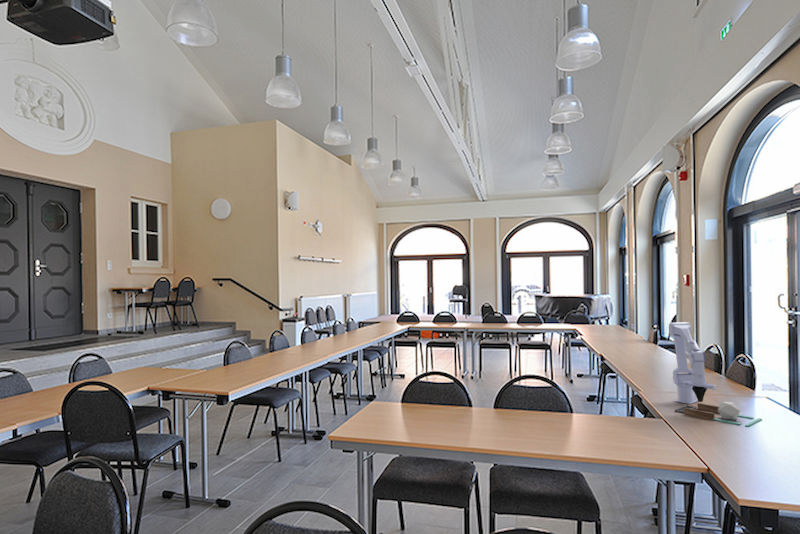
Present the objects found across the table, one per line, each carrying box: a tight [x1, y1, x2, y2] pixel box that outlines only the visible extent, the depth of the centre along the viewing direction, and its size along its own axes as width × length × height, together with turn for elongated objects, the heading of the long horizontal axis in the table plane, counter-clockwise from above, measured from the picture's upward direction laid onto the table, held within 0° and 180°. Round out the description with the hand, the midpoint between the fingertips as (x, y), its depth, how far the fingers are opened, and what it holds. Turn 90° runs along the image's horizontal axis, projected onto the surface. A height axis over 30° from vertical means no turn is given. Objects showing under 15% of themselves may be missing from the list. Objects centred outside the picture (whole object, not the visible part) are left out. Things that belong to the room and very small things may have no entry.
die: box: [718, 401, 741, 421], centre depth 219 cm, size 8×9×10 cm
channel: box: [684, 402, 720, 421], centre depth 228 cm, size 15×13×3 cm
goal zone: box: [712, 414, 763, 428], centre depth 216 cm, size 15×14×1 cm
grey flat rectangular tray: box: [674, 404, 698, 414], centre depth 236 cm, size 12×5×1 cm, turn 122°
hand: (700, 401), depth 230 cm, fingers closed
